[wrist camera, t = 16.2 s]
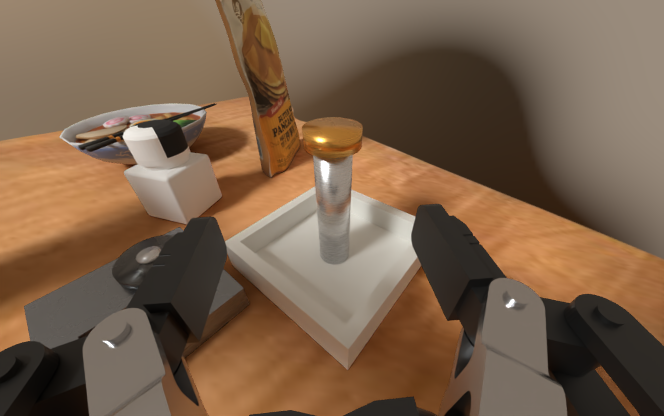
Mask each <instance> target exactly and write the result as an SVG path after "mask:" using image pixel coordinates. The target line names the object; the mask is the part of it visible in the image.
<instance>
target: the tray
mask: <svg viewBox="0 0 664 416" xmlns="http://www.w3.org/2000/svg"><path fill="white" fill-rule="evenodd" d="M414 221H415V216H413V215H410V214H408V213H406V212H403V211H401V210H399V209H396V208H394V207H391V206H389V205H387V204H384V203H382V202H380V201H377V200H375V199H372V198H370V197H368V196H365V195H363V194H361V193H358V192H356V191H353V190H351V212H350V241H349V256H348V258H347V260H346V261H344V262H343V263H340V264H328V263H326V262H324V261H323V260H322V259H321V257H320V247H319V232H318V218H317V203H316V188H315V187H313V188H312V189H310V190H308V191H307V192H305V193H303V194H302V195H300V196H299V197H297V198H295V199H294V200H292V201H290V202H289V203H287V204H285V205H284V206H282V207H281V208H279V209H277V210H276V211H274V212H272V213H271V214H269V215H267V216H266V217H264V218H263V219H261V220H259V221H258V222H256V223H254V224H253V225H251V226H249V227H248V228H246V229H245V230H243V231H241V232H240V233H238V234H236V235H235V236H233V237H231V238H230V239H228V240H227V241H225V244H226V247H227V254H228V257H229V259H230V261H231V264H232V266H233V267H234V268H236V269H237V270H238V271H239V272H240V273H241V274H242V275H243V276H244V277H245V278H247V279H248V280H249V281H250V282H251V283H252V284H253V285H254V286H255V287H257V288H258V289H259V290H260V291H261V292H262V293H263V294H264V295H265V296H266V297H268V298H269V299H270V300H271V301H272V302H273V303H274V304H275V305H276V306H278V307H279V308H280V309H281V310H282V311H283V312H284V313H285V314H286V315H287V316H289V317H290V318H291V319H292V320H293V321H294V322H295V323H296V324H297V325H298V326H300V327H301V328H302V329H303V330H304V331H305V332H306V333H307V334H308V335H310V336H311V337H312V338H313V339H314V340H315V341H316V342H317V343H318V344H319V345H321V346H322V347H323V348H324V349H325V350H326V351H327V352H328V353H329V354H330V355H332V356H333V357H334V358H335V359H336V360H337V361H338V362H339V363H340V364H342V365H343V366H344V367H345V368H346V369H347V370H348V369H349V368H350V366H351V365H352V363H353V362H354V360H355V359H356V358H357V356H358V355H359V353H360V352H361V351H362V349H363V348H364V346H365V345H366V343H367V342H368V341H369V339H370V338H371V336H372V335H373V333H374V332H375V331H376V329H377V328H378V326H379V325H380V324H381V322H382V321H383V319H384V318H385V316H386V315H387V314H388V312H389V311H390V309H391V308H392V307H393V305H394V304H395V302H396V301H397V299H398V298H399V297H400V295H401V294H402V292H403V291H404V289H405V288H406V287H407V285H408V284H409V282H410V281H411V280H412V278H413V277H414V275H415V274H416V272H417V271H418V270H419V268H420V267H421V263H420V261H419V259H418V257H417V255H416V253H415V251H414V248H413V246H412V242H411V233H412V229H413V225H414Z"/></svg>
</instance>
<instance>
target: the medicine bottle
mask: <svg viewBox="0 0 664 416" xmlns="http://www.w3.org/2000/svg"><path fill="white" fill-rule="evenodd" d="M123 139H124V141H125V142H126V144H127V146H128V148H129V150H130V151H131V153H132V155H133V157H134V159H135V161H136V162H137V165H135V166H133V167H131V168H129V169H127V170H125V171H124V175H125V176H126V178H127V180H128V181H129V183H130V185H131V186H132V188H133V190H134V191H135V193H136V195H137V196H138V198H139V200H140V201H141V203H142V205H143V206H144V208H145V210H146V211H147V213H148V215H150V216H153V217H157V218H162V219H166V220H170V221H174V222H179V223H183V224H188V222H189V221H190V219H192V218H198V217H199V216H200V215H201V214H202V213H204V212H205V211H206V210H207V209H208V208H210V207H211V206H212V205H213V204H214V203H215V202H217V201H218V200H219V199H220V198H221V197H222V194H221V191H220V188H219V185H218V182H217V179H216V177H215V174H214V171H213V168H212V165H211V162H210V159H209V157H208V155H206V154H200V153H193V152H190V149H189V146H188V144H187V141H186V139H185V136H184V133H183V131H182V128H181V126H180V125H179V124H178V123H176V122H174V121H170V120H151V121H145V122H141V123H138V124H135V125H133V126H131V127H130V128H128V129H127V130H126V131H125V132H124V134H123Z"/></svg>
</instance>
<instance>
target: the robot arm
mask: <svg viewBox="0 0 664 416" xmlns="http://www.w3.org/2000/svg"><path fill="white" fill-rule="evenodd" d="M411 242H412V246H413V248H414V251H415V253H416V255H417V257H418V259H419V261H420V263H421V266H422V268H423V270H424V272H425V274H426V276H427V278H428V281H429V283H430V285H431V287H432V289H433V291H434V293H435V295H436V298H437V300H438V302H439V304H440V306H441V308H442V310H443V313H444V315H445V317H446V319H447V321H450V320H460V322H461V324H462V326H463V327H462V329H461V331H460V336H459V340H458V345H457V349H456V354H455V358H454V363H453V367H452V372H451V376H450V381H449V384H448V387H447V389H446V391H445V394H444V396H443V399H442V402H441V406H440V409H439V414H438V415H436V414H434V413H432V412H430V411H427V410H424V409H422V408H418V407H416V403H415V400H414V397H405V398H396V399H387V400H378V401H373V402H371V403H369V404H367V405H365V406H363V407H361V408H359V409H356V410H354V411H352V412H350V413H348V414H346V415H344V416H630V415H629V413H628V412H627V411H626V409H625V408H624V407H623V406H622V404H621V403H620V402H619V400H618V399H617V398H616V396H615V395H614V394H613V393H612V391H611V390H610V389H609V387H608V386H607V385H606V383H605V382H604V381H603V379H602V378H601V377H600V376H599V374H598V373H597V372H596V370H595V369H596V368H598V367H599V366H602V367H603V368H604V370H605V371H606V372H607V373H608V375H609V376H610V377H611V378H612V380H613V381H614V382H615V383H616V385H617V386H618V387H619V388H620V390H621V391H622V392H623V394H624V395H625V396H626V397H627V399H628V400H629V401H630V402H631V404H632V405H633V406H634V407H635V409H636V410H637V411H638V413H639V415H640V416H664V346H663V345H662V344H661V343H660V342H659V341H658V340H657V339H656V338H655V337H654V336H653V335H652V334H651V333H649V332H648V331H647V330H646V329H645V328H644V327H643V326H642V325H641V324H640V323H639V322H638V321H637V320H636V319H635V318H634V317H633V316H632V315H631V314H630V313H629V312H627V311H626V310H625V309H623V308H622V307H621V306H619V305H617V304H616V303H614V302H612V301H610V300H608V299H606V298H603V297H600V296H597V295H592V294H582V295H579V296H578V297H577V298H576V299H575V300H573V301H572V302H571V303H566V302H561V301H556V300H551V299H546V298H541V297H539V296H538V295H537V294H536V293H535V292H534V291H533V290H532V289H531V288H529V287H528V286H526V285H524V284H523V283H521V282H518V281H516V280H513V279H508V278H507V277H506V276H505V275H504V274H503V272H502V271H501V270H500V269H499V267H498V266H497V265H496V263H495V262H494V261H493V259H492V258H491V257H490V256H489V254H488V253H487V252H486V250H485V249H484V248H483V246H482V245H480V244H479V241H478V240H477V239H476V237H475V236H473V233H472V232H471V231H470V230H469V228H468V227H467V226H466V224H464V223H463V222H462V221H460V220H459V219H457V218H456V217H455V216H449V215H448V213H447V212H446V211H445V209H444V208H443V207H442V205H440V204H429V205H420V206H419V207H418V210H417V213H416V217H415V221H414V225H413V229H412V233H411ZM226 258H227V247H226V244H225V241H224V238H223V236H222V233H221V231H220V228H219V225H218V223H217V220H216V219H215V218H214V217H200V218H192V219H190V221H189V222H188V224H187V226H186V228H185V229H184V231H183V232H178V233H176V234H175V235H174V236H173V237H172V238H171V239H170V240H168V241H167V242H166V243H165V245H164V246H163V248H162V250H161V251H160V253H159V257H157V258H156V260H155V261H154V263H153V267H151V268H150V269H149V271H148V273H147V274H146V276H145V278H144V279H143V281H142V283H141V284H140V286H139V288H138V289H137V291H136V292H135V294H134V296H133V297H132V299H131V301H130V302H129V304H128V306H127V307H126V308H125V309H124V310H121V311H118V312H116V313H114V314H112V315H110V316H108V317H107V318H105V319H104V320H103V321H101V322H100V323H99V324H98V325H97V326H96V327H95V328H94V329H93V330H92V331H91V332H90V334H89V335H88V336H85V337H83V338H80V339H77V340H74V341H71V342H68V343H66V344H63V345H60V346H57V347H54V348H51V349H50V348H48V347H46V346H45V345H43V344H42V343H40V342H37V341H28V342H23V343H19V344H16V345H14V346H12V347H9V348H7V349H5V350H3V351H2V352H0V416H209V415H208V413H207V411H206V409H205V407H204V405H203V403H202V400H201V398H200V395H199V393H198V390H197V388H196V385H195V383H194V380H193V378H192V375H191V373H190V370H189V368H188V365H187V363H186V360H185V358H184V356H183V352H184V349H185V346H186V343H197V342H200V340H201V337H202V334H203V330H204V327H205V324H206V321H207V318H208V315H209V312H210V309H211V305H212V302H213V299H214V296H215V293H216V290H217V287H218V284H219V280H220V277H221V274H222V271H223V268H224V265H225V262H226ZM249 416H315V415H310V414H306V413H301V412H297V411H293V410H288V411H279V412H270V413H261V414H252V415H249Z"/></svg>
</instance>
